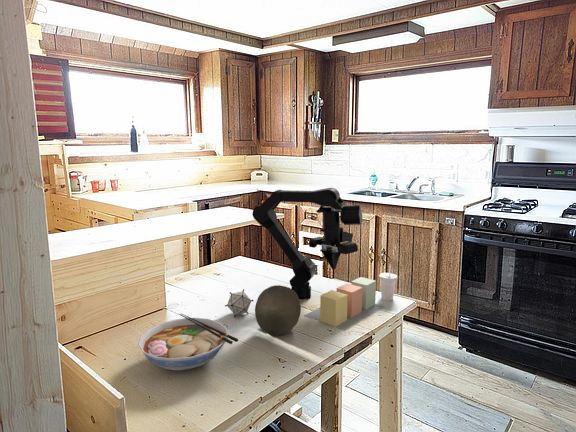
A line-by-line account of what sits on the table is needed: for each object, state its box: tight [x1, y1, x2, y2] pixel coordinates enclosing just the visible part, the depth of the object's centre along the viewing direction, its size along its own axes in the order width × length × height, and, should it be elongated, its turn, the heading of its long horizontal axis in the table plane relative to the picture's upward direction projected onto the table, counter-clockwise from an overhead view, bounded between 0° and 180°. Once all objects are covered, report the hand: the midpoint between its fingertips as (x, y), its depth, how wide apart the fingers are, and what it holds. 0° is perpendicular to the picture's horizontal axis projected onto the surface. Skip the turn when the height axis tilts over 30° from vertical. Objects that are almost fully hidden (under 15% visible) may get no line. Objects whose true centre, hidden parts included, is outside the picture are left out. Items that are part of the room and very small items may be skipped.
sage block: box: [350, 276, 377, 309], centre depth 144 cm, size 6×6×8 cm
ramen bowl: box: [137, 313, 239, 371], centre depth 110 cm, size 25×23×8 cm
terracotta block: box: [336, 283, 362, 318], centre depth 138 cm, size 6×6×8 cm
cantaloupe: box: [254, 284, 302, 337], centre depth 125 cm, size 14×14×15 cm
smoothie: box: [378, 263, 398, 301], centre depth 150 cm, size 6×6×14 cm
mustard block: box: [319, 289, 348, 328], centre depth 132 cm, size 6×6×8 cm
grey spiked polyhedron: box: [224, 288, 254, 318], centre depth 140 cm, size 9×8×10 cm
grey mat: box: [303, 303, 385, 331], centre depth 140 cm, size 16×24×1 cm, turn 138°
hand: (333, 269), depth 146 cm, fingers closed
